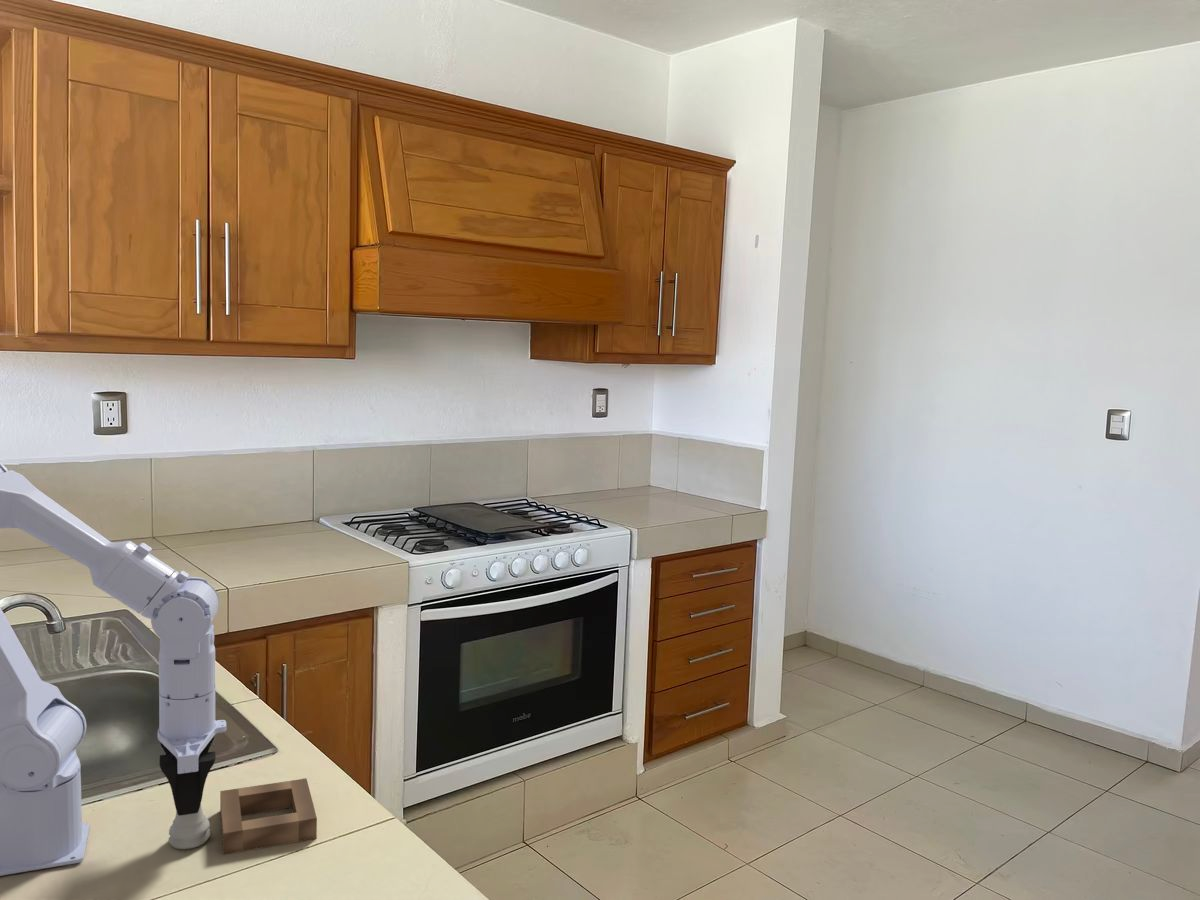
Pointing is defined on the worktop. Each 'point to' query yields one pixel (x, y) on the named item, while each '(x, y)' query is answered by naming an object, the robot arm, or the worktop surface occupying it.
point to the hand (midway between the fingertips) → (188, 804)
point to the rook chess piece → (189, 830)
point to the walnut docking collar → (269, 828)
